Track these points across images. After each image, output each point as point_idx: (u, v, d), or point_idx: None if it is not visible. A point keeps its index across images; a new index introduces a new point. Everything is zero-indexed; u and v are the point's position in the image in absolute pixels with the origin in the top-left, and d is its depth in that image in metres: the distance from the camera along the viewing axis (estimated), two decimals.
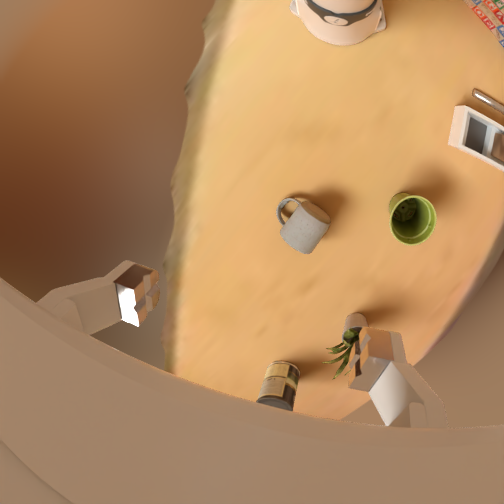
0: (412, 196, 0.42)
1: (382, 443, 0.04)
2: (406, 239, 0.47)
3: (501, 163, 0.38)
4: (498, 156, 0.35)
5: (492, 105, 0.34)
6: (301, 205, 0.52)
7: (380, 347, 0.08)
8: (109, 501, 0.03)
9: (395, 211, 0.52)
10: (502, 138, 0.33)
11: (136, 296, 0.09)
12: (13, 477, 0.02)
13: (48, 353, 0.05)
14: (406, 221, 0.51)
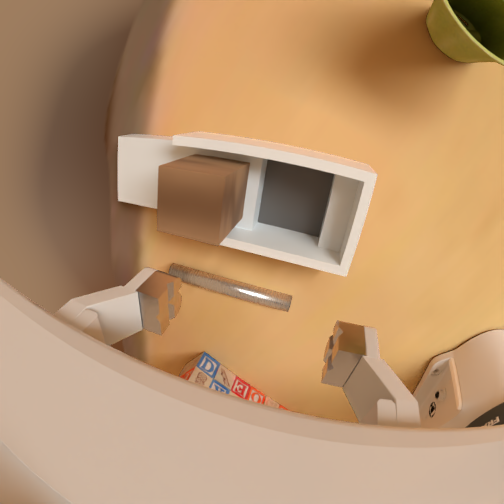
0: None
1: (382, 443, 0.04)
2: None
3: (210, 151, 0.23)
4: (237, 172, 0.20)
5: None
6: None
7: (352, 341, 0.08)
8: (109, 501, 0.03)
9: (466, 28, 0.13)
10: (231, 222, 0.22)
11: (160, 305, 0.09)
12: (13, 477, 0.02)
13: (48, 353, 0.05)
14: None
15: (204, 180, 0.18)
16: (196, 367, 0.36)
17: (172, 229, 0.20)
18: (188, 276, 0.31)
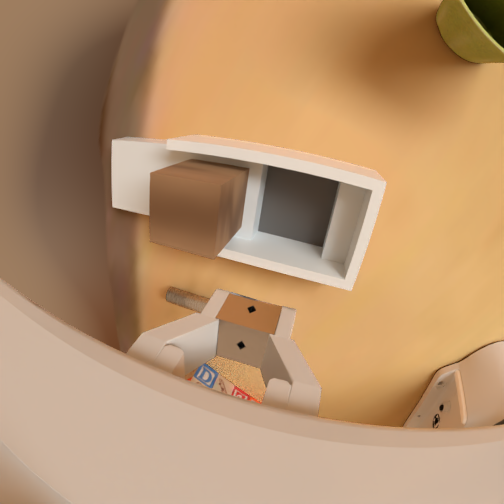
0: None
1: (382, 443, 0.04)
2: None
3: (207, 155, 0.22)
4: (235, 179, 0.19)
5: None
6: None
7: (263, 320, 0.09)
8: (109, 501, 0.03)
9: None
10: (228, 232, 0.20)
11: (244, 331, 0.09)
12: (13, 477, 0.02)
13: (48, 353, 0.05)
14: None
15: (198, 188, 0.17)
16: (193, 377, 0.34)
17: (165, 240, 0.19)
18: None
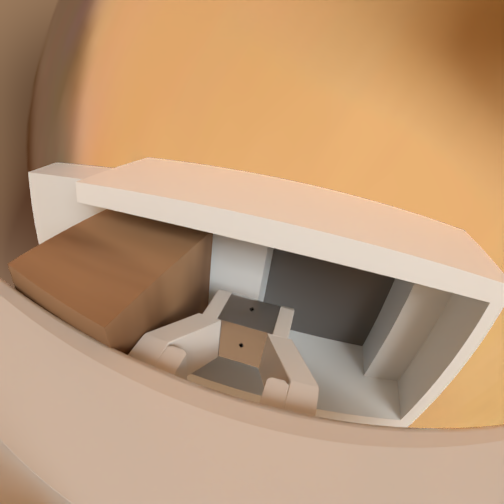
0: None
1: (382, 443, 0.04)
2: None
3: None
4: (166, 278, 0.08)
5: None
6: None
7: (261, 319, 0.09)
8: (109, 501, 0.03)
9: None
10: None
11: (246, 332, 0.09)
12: (13, 477, 0.02)
13: (48, 353, 0.05)
14: None
15: (71, 320, 0.06)
16: None
17: None
18: None
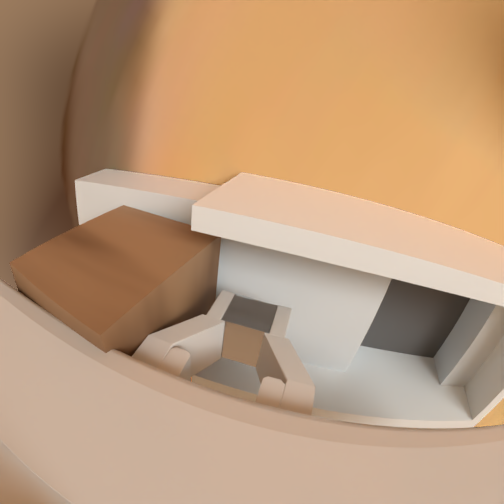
0: None
1: (382, 443, 0.04)
2: None
3: None
4: (168, 285, 0.08)
5: None
6: None
7: (258, 318, 0.09)
8: (109, 501, 0.03)
9: None
10: None
11: (250, 333, 0.09)
12: (13, 477, 0.02)
13: (48, 353, 0.05)
14: None
15: (69, 324, 0.06)
16: None
17: None
18: None
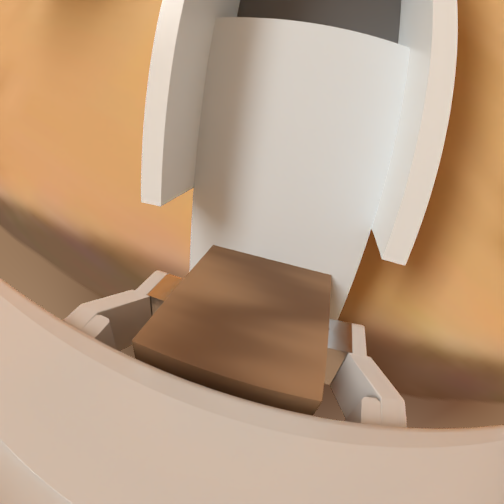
0: None
1: (382, 443, 0.04)
2: None
3: (212, 128, 0.10)
4: (183, 288, 0.09)
5: None
6: None
7: (338, 338, 0.08)
8: (109, 501, 0.03)
9: None
10: (301, 325, 0.08)
11: None
12: (13, 477, 0.02)
13: (48, 353, 0.05)
14: None
15: None
16: None
17: None
18: None
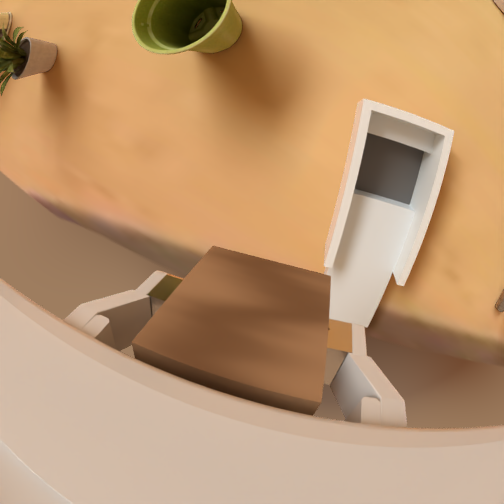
0: None
1: (382, 443, 0.04)
2: (144, 19, 0.17)
3: (343, 236, 0.27)
4: (183, 290, 0.09)
5: None
6: None
7: (338, 338, 0.08)
8: (109, 501, 0.03)
9: (205, 19, 0.22)
10: (301, 326, 0.08)
11: None
12: (13, 477, 0.02)
13: (48, 353, 0.05)
14: (189, 41, 0.23)
15: None
16: None
17: None
18: None
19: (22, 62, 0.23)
